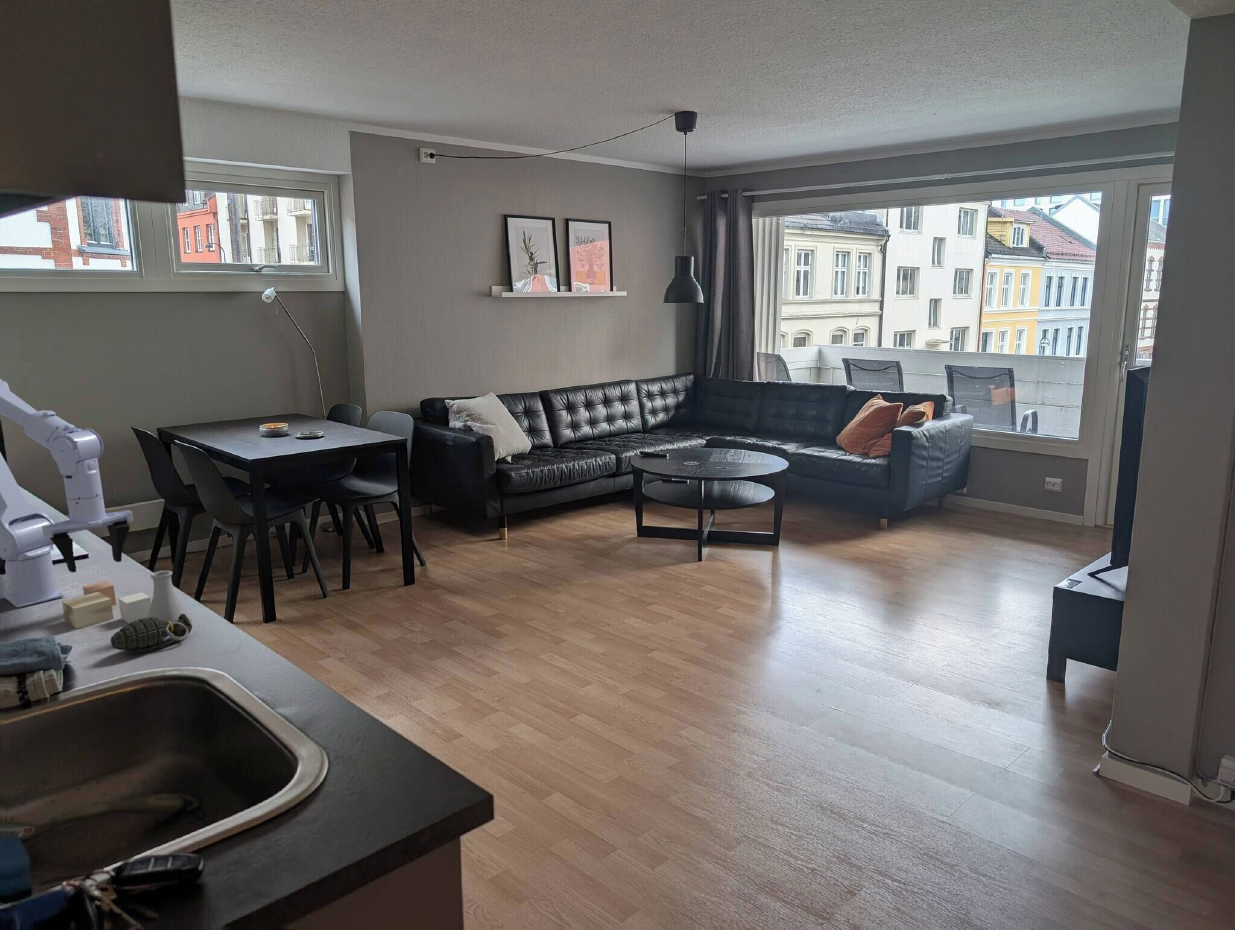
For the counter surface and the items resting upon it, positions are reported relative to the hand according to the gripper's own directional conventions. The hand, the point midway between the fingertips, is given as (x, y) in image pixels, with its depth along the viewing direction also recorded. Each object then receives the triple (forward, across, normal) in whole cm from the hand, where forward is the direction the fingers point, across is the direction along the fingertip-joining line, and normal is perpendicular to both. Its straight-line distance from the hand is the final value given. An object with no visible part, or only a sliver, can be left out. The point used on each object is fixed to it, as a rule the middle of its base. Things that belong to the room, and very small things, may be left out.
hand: (95, 565), depth 160 cm
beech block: (+8, -4, -6) cm, 11 cm away
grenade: (+8, -1, -29) cm, 30 cm away
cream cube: (+8, +2, -12) cm, 15 cm away
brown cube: (+8, 0, 0) cm, 8 cm away
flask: (+8, +4, -21) cm, 23 cm away
